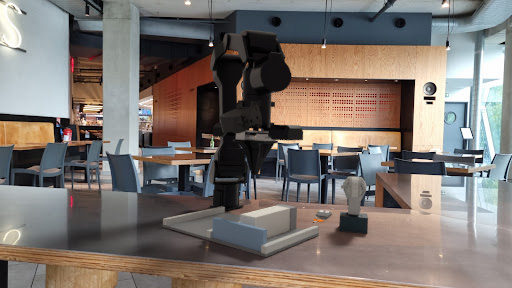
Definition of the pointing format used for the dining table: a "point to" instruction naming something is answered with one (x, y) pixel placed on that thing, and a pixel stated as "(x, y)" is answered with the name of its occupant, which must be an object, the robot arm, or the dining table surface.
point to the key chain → (322, 215)
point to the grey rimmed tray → (236, 231)
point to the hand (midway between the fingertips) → (254, 174)
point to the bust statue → (354, 206)
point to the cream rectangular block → (272, 219)
